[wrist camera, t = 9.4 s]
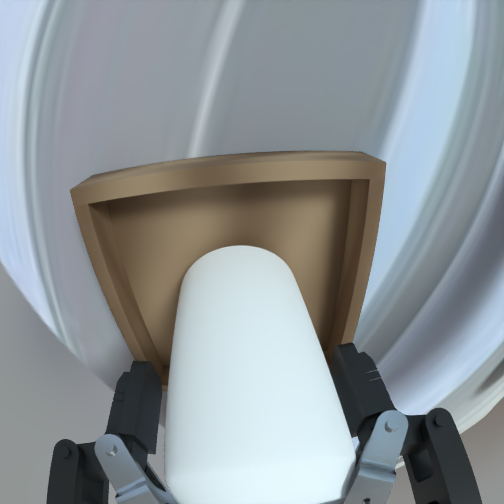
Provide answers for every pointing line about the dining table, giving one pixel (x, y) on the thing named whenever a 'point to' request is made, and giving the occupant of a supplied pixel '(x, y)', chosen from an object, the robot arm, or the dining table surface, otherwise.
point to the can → (251, 390)
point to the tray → (232, 234)
